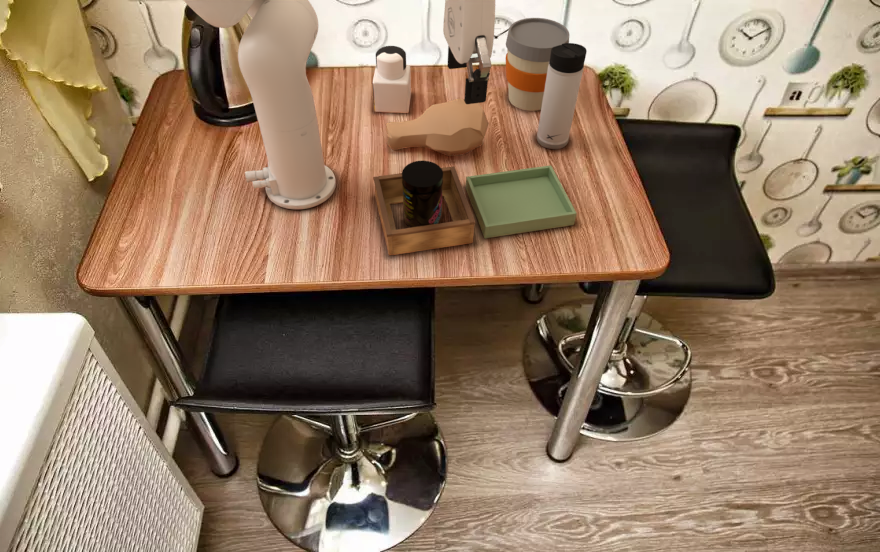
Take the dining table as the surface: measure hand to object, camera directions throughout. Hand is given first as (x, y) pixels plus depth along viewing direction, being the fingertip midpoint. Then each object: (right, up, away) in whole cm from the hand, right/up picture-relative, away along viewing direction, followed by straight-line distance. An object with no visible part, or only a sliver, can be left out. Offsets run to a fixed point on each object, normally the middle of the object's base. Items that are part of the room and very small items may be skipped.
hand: (466, 84), depth 95 cm
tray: (+10, -17, +17) cm, 26 cm away
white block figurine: (-14, +7, +37) cm, 40 cm away
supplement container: (-7, -20, +14) cm, 25 cm away
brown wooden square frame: (-7, -19, +14) cm, 25 cm away
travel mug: (+19, -2, +29) cm, 35 cm away
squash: (-5, -4, +28) cm, 28 cm away
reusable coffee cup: (+15, +9, +39) cm, 43 cm away
